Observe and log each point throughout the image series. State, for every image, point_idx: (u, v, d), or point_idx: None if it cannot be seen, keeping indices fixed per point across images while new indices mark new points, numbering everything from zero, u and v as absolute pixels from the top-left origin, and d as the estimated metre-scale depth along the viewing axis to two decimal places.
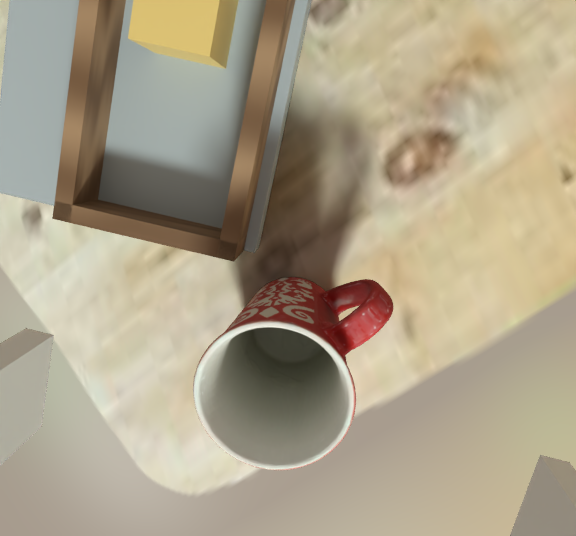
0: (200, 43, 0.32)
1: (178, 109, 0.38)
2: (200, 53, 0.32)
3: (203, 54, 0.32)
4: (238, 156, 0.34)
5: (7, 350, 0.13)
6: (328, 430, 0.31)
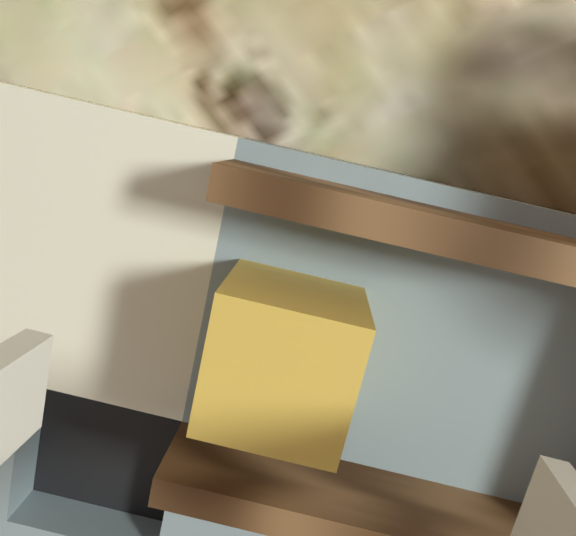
0: (351, 346, 0.17)
1: (428, 370, 0.22)
2: (369, 347, 0.16)
3: (371, 341, 0.16)
4: (565, 279, 0.17)
5: (7, 350, 0.13)
6: None
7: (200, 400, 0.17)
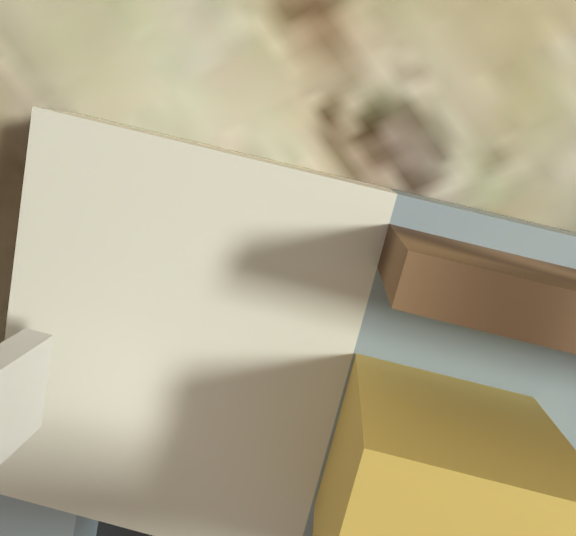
0: None
1: None
2: None
3: None
4: None
5: (6, 350, 0.13)
6: None
7: None
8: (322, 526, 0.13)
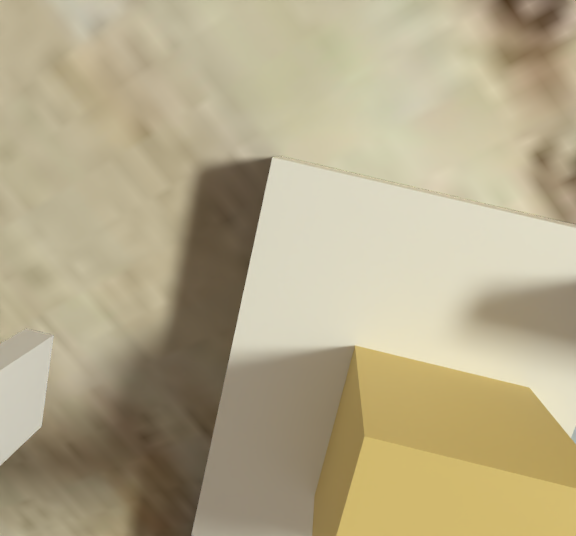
0: None
1: None
2: None
3: None
4: None
5: (7, 350, 0.13)
6: None
7: None
8: (323, 514, 0.14)
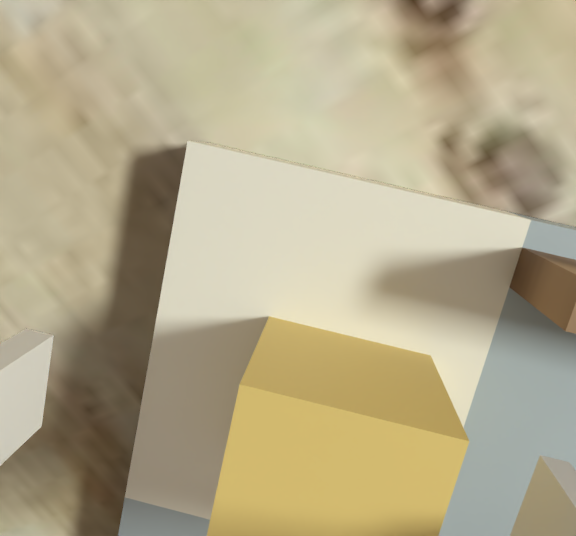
0: (432, 461, 0.12)
1: None
2: (458, 463, 0.12)
3: (461, 455, 0.12)
4: None
5: (7, 350, 0.13)
6: None
7: (218, 528, 0.12)
8: None
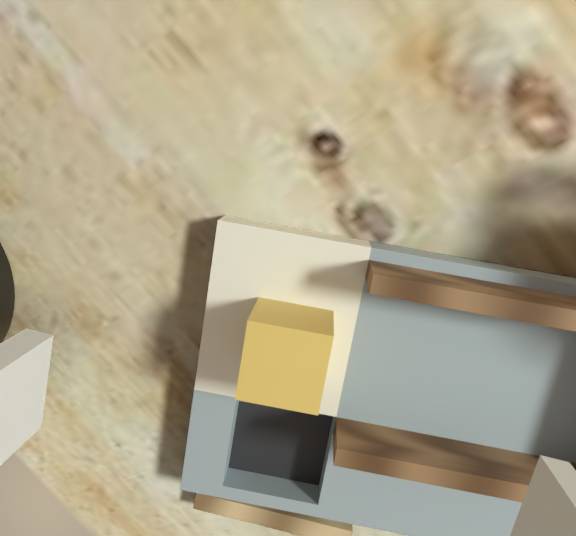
0: (321, 345, 0.31)
1: (489, 378, 0.36)
2: (331, 345, 0.31)
3: (331, 342, 0.31)
4: (568, 327, 0.31)
5: (6, 350, 0.13)
6: None
7: (242, 378, 0.32)
8: None
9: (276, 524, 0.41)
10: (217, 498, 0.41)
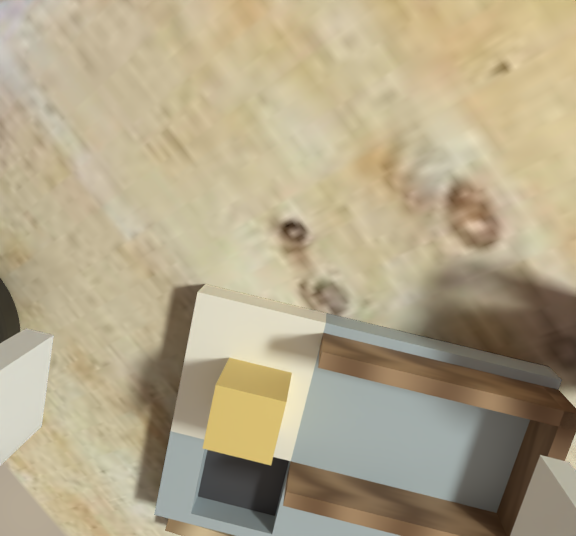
0: (275, 408, 0.37)
1: (420, 437, 0.42)
2: (283, 409, 0.37)
3: (284, 406, 0.37)
4: (480, 405, 0.37)
5: (7, 350, 0.13)
6: None
7: (209, 431, 0.38)
8: None
9: None
10: (186, 523, 0.47)
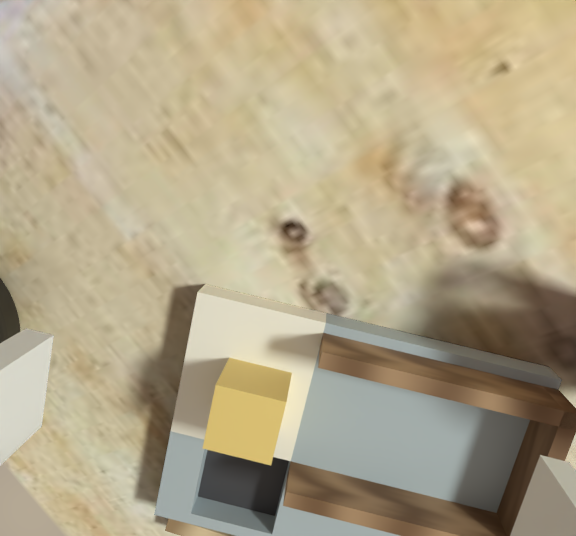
0: (275, 408, 0.37)
1: (420, 437, 0.42)
2: (283, 409, 0.37)
3: (284, 406, 0.37)
4: (480, 405, 0.37)
5: (6, 350, 0.13)
6: None
7: (209, 431, 0.38)
8: None
9: None
10: (186, 523, 0.47)
